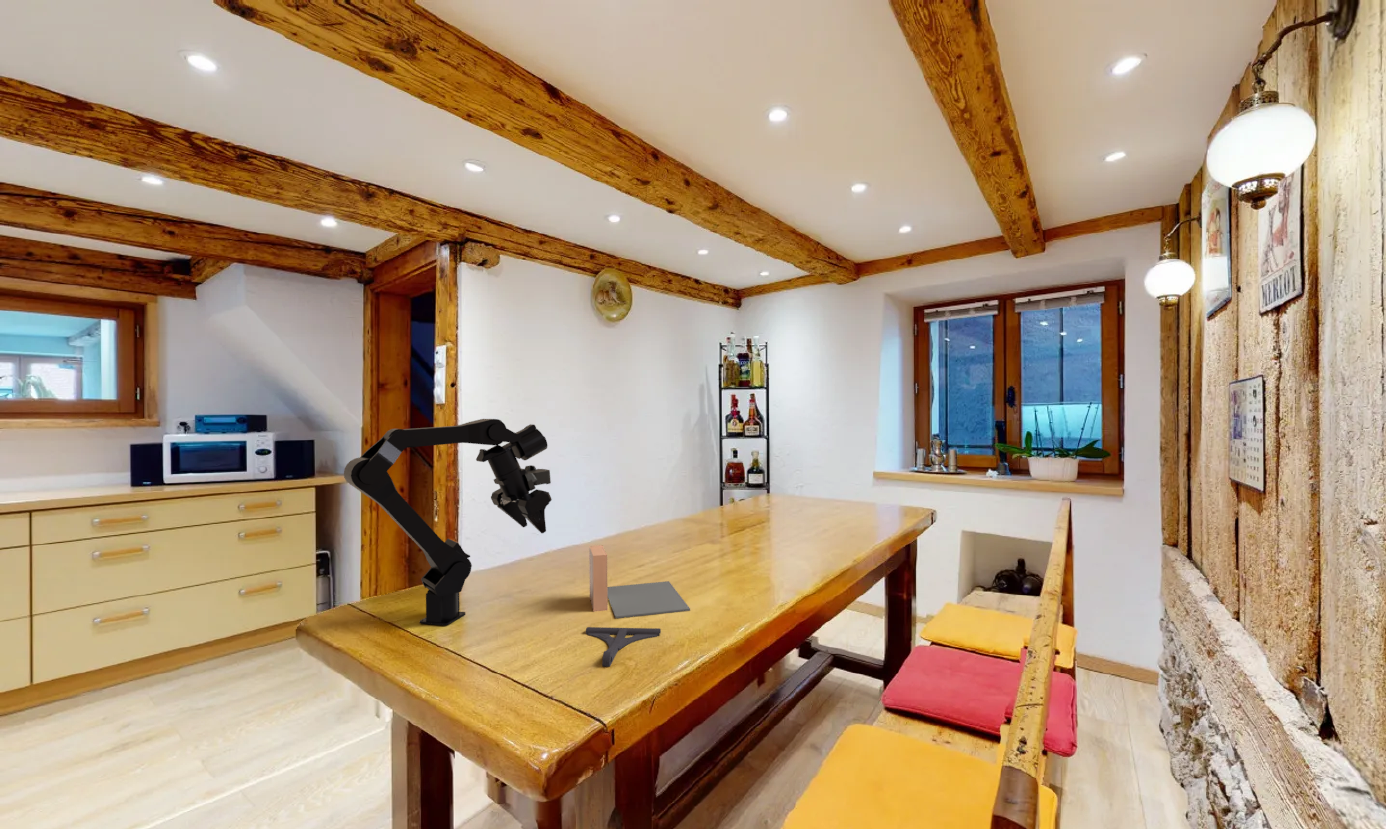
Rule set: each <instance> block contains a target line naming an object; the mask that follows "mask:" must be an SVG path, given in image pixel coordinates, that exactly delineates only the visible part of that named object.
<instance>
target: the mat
mask: <svg viewBox="0 0 1386 829" xmlns="http://www.w3.org/2000/svg"><path fill="white" fill-rule="evenodd" d="M607 588H608V599H609V600H608V602H609V605H610V607H612V608H611V610H612V612H613V615H614V618H615V619H616V618H617V619H625V618H624V617H626V618H632V617H633V616H634V617H633V618H635V617H645V616H653V615H662V614H670V613H671V614H672V613H678V612H679V613H681V612H688V611H691V607H690V606H689V605H688V604H687V603H686V601H685V600H684V599H683V597H682V595H680V594H679V592H678V590H676V588H675V587H674V586H673V584H672V583H671V582H670V580H668V581H667V580H666V581H655V582H647V583H646V582H645V583H636V584H623V585H615V586H614V585H613V586H607Z"/></svg>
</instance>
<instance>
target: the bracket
mask: <svg viewBox="0 0 1386 829" xmlns="http://www.w3.org/2000/svg"><path fill="white" fill-rule="evenodd" d="M661 633H662V631H661V628H652V627H651V628H650V627H649V628H646V627H607V626H606V627H602V626H601V627H596V626H586V629H585V635H587V636H591V637H594V638H597V639H600V640H601V641H603V642H605V643H606V645H607V646H608V648H607V649H606V650H604V651H603V654H602V663H601V664H602V667H603V668H604V667H606V668H610V667H611V665H612V663H613V662H614V660H615V658H616V655H617V654H618V652H619V651H620V650H622V649H623V648H624V647H626V646H628V645H630V644H632V643H635V642H638V641H642V640H646V639H651V638H657V637H660V634H661ZM614 636H615V637H614ZM626 636H629V637H626Z"/></svg>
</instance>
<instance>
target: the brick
mask: <svg viewBox="0 0 1386 829" xmlns="http://www.w3.org/2000/svg"><path fill="white" fill-rule="evenodd" d="M588 550H589V551H588V552H589V561H588V562H589V565H588V566H589V601H590V600H591V601H590V603H591V607H592V611H593V613H595V612H603V611H608V610H609V609H608V607H609V603H608V602H609V600H608V588H607V587H608V553H607V552H606V550H605V548H604V545H602V544H599V545H598V544H597V545H589V546H588Z"/></svg>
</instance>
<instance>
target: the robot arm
mask: <svg viewBox="0 0 1386 829" xmlns="http://www.w3.org/2000/svg"><path fill="white" fill-rule="evenodd" d="M463 443H464V444H473V445H474V444H475V445H483V446H484V445H485V446H492V447H490V448H489V449H485V448H483V449H482V448H480V449H479V451H478V454H477V457H476V459H475V460H476V462H481V463H485V462H487V463H488V464H489V466H490V469H491V471H492V473H493V475H494V477H495V478H494V479H493V482H494V484H496V485H498V486H499V488H498V489H497V490H494V491H493V492H492V494H491V496H490V500H491V501H492V503H493V505H494V506H497V508H498V509H500V510H501V511H502V512H504V513H505V514H506V515H508V517H510V518H511V519H512V520H513V521H515V522H516V523H517V524H518V525H520V527H522V528H526V527H527V526H528V521H529V523H530V524H531V525H532V526H533V528H535V529H536V530H537V531H538V532H539V533H540V534H544V533H546V532H547V527H546V515H545V510H546V507H547V506H549V504H550V502H551V501H552V500H553V498H552V497H551V495H550V493H549V492H548V491H546V490H542V489H538V488H537V489H536V486H540V485H551V482H552V480H551V473H550V472H551V470H550V469H546V468H537V467H536V466H535V465H525V467H524V468H521V466H520V463H519V460H520V459H521V460H522V461H527V460H530V459H531V458H533V457H534V456H537V455H539V454H540V453H542V452H544V451H545V450H547V449H548V441H547V439H546V436H544V435H543V433H542V432H541V431H540V430H539V429H538V428H537V426H536V425H535V424H533V423H530V424H529V425H527V426H525V427H524V428H522V429H520V430H518V431H516V432H514V431H513V430H510V429H508V428H507V426H506V424H505V423H504V422H503V421H502V420H501V419H498V418H497V419H496V418H480V419H477V420H472V421H468V422H465V423H462V424H458V425H449V426H434V427H433V426H432V427H431V426H430V427H420V428H419V427H417V428H416V427H415V428H404V429H402V428H391V429H389V430H387V431H386V432H385V434H384V435H383V436H382V437H381V438H380V439H379V440H377V442H375V443H374V444H372V446H371V447H370V448H368V449H367V450H365V452H364V453H363V454H362V455H361V456H360V457H356V458H353V459H352V460H350V461H349V462H348V463H347V464H346V465H345V467H344V470H343V477H344V479H345V481H346V483H348V484H349V485H350V486H352V488H353V487H354V488H355V489H356V490H357V491H359V492H360V493H361V494H363V495H365V496H366V497H367V498H370V499H371V500H372V501H374V502H375V503H376V504H378V506H380V508H381V509H383V511H384V512H386V514H387V515H388V516H389V517H390V518H391V519H392V520H393V522H395V523H396V524H397V525H398V527H399V528H400V529H401V530H402V531H403V532H404V533H405V534H406V535H407V536H408V537H409V538H410V539H411V540H412V542H414V543H415V544H416V545H417V547H419V549H420V550H422V552H423V554H424V556H425V558H426V561H427V563H428V564H429V566H430V568H429V569H428V570H427V572H426V573H425V574H423V576H422V577H421V578H420V580H421V582H422V585H423V587H424V588H426V589H428V590H427V592H426V593H425V617H424V618H422V619H420V620H419V624H423V625H424V624H425V625H435V626H436V625H437V626H448V625H451V624H452V623H454V622H455V621H457V620H459V619H460V618H462V617H464V616H466V611H460V593H461V592H462V591H463V587H464V584H465V581H466V580H467V579H468V577H469V576H470V574H471V572H472V567H473V565H472V562H471V561H470V559H469V558H471V555H470V554H468V553H466V552H465V551H464V549H463V548H462V546H461V545H460V544H459V542H457V541H454V540H453V539H451V538H447V539H446V540H445V541H443V539H441V537H440V536H439V535H438V534H437V532H435V531H434V530H433V529H432V528H431V527H430V525H428V523H427V522H426V521H425V520H424V519H423V518H422V517H421V516H420V515H419V514H418V512H417V511H415V509H414V508H413V507H412V506H411V505H410V504H409V503H408V502H407V501H406V500H405V499H404V497H403V496H402V495H401V494H400V493H399V491H398V490H397V488H396V485H395V484H394V482H393V479H392V477H391V475H390V474H389V472H388V471H389V470H390V468H391V467H392V466H394V464H395V463H396V461H397V459H399V457H400V455H401V454H402V453H403V451H404V450H405V449H407V448H409V449H410V448H417V447H430V446H440V445H452V444H453V445H454V444H463ZM502 443H506V444H504V445H501V444H502Z"/></svg>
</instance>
